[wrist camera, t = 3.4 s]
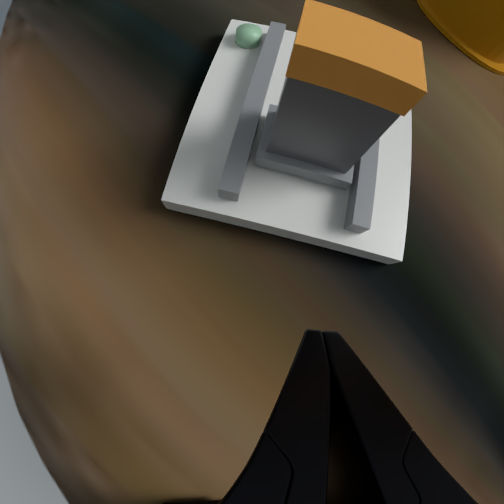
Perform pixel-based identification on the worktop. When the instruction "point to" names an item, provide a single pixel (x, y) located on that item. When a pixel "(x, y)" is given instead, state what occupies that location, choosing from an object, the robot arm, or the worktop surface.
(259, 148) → the breaker handle
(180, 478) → the worktop surface
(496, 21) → the spool
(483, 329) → the worktop surface
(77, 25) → the worktop surface
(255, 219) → the white rail base plate
